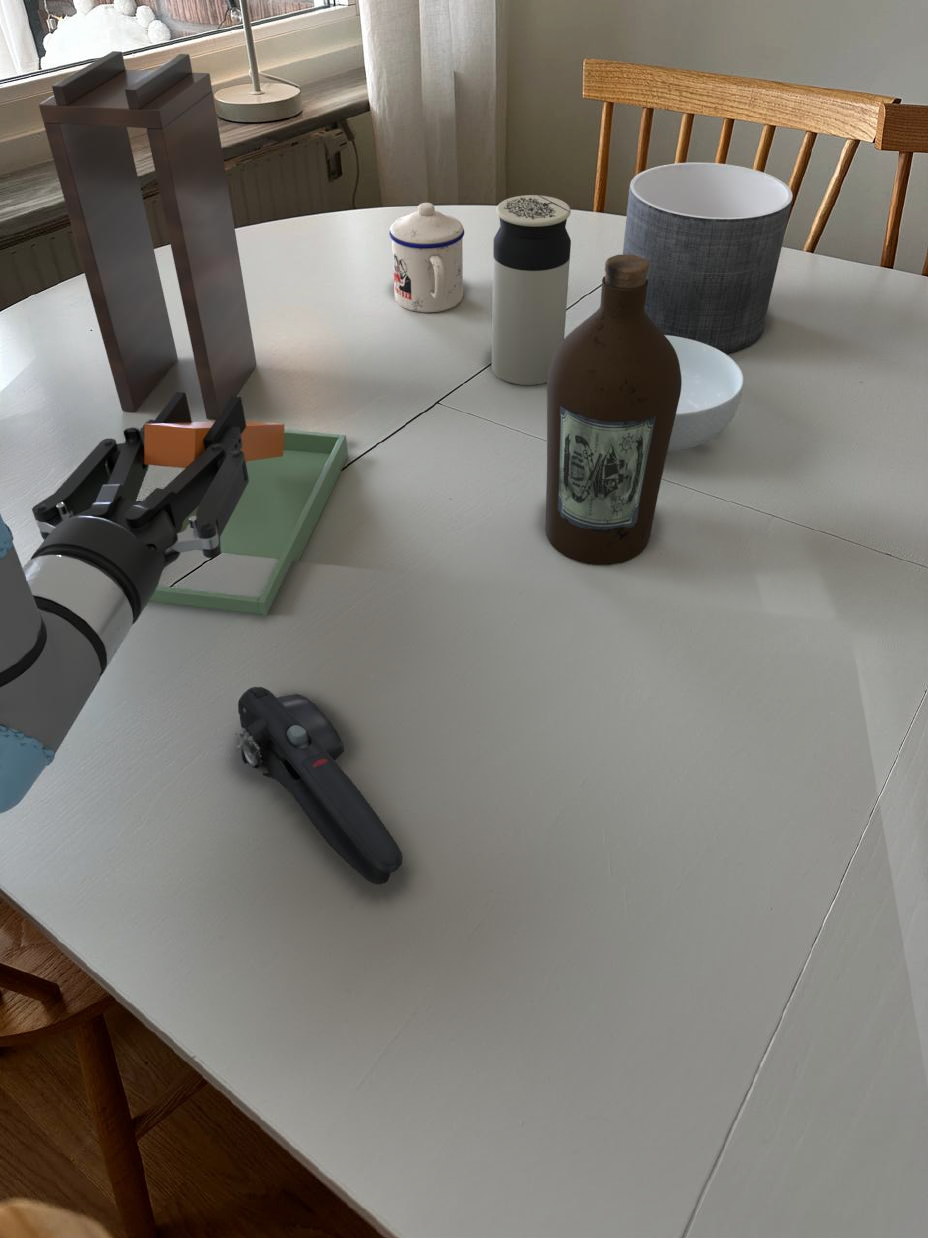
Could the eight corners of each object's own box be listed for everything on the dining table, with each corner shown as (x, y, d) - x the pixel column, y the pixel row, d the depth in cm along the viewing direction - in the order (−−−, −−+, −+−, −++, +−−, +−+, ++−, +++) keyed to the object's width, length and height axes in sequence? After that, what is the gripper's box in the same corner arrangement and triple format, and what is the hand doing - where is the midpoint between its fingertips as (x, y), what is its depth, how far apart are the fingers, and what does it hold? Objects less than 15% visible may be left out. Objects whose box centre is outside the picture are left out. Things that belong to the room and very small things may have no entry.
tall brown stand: (121, 411, 104) (32, 84, 83) (166, 357, 113) (95, 49, 92) (220, 420, 103) (154, 90, 82) (257, 365, 112) (206, 54, 90)
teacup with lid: (387, 287, 127) (381, 194, 119) (455, 280, 128) (454, 188, 120) (405, 328, 118) (400, 232, 110) (478, 320, 120) (478, 224, 112)
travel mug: (510, 393, 107) (515, 227, 94) (479, 361, 112) (481, 200, 100) (574, 378, 109) (587, 214, 97) (541, 347, 114) (550, 188, 102)
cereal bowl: (698, 385, 108) (709, 325, 103) (757, 469, 96) (772, 405, 91) (549, 399, 106) (552, 338, 101) (589, 486, 94) (596, 422, 89)
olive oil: (548, 492, 93) (566, 228, 76) (660, 507, 91) (704, 240, 74) (528, 562, 85) (543, 285, 68) (650, 579, 84) (697, 300, 67)
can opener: (221, 745, 70) (206, 691, 66) (306, 704, 73) (298, 650, 69) (343, 929, 60) (334, 878, 56) (438, 872, 62) (436, 820, 59)
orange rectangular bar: (144, 464, 73) (144, 423, 73) (242, 452, 93) (243, 420, 92) (194, 469, 73) (195, 428, 72) (283, 456, 92) (284, 423, 91)
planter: (760, 296, 124) (787, 166, 114) (767, 363, 112) (798, 224, 101) (619, 286, 127) (633, 158, 116) (610, 350, 114) (625, 213, 103)
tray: (116, 607, 81) (108, 584, 80) (222, 444, 100) (218, 422, 98) (268, 625, 80) (264, 602, 78) (348, 456, 98) (346, 434, 96)
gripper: (-22, 623, 66) (124, 439, 83) (217, 652, 64) (317, 457, 81) (-63, 535, 61) (101, 358, 78) (195, 564, 59) (307, 375, 76)
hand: (211, 409), depth 80 cm, fingers closed on orange rectangular bar, 4 cm apart
